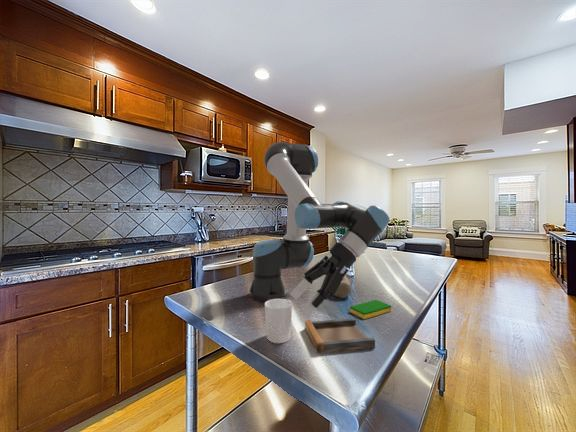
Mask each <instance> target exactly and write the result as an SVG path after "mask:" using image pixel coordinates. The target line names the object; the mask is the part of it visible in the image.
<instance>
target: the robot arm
mask: <svg viewBox="0 0 576 432" xmlns="http://www.w3.org/2000/svg"><path fill="white" fill-rule="evenodd" d="M264 153H265V154H264V156H263V157H264V159H263V162H264V166H265V169H266V170H267V172H268V174H270V175H272V176H274V178H275V179H276V180H277V182H278V184H279V185H280V186H281V188H282V190H283V191H284V192H285V194H286V196H287V210H286V211H287V212H286V214H287V216H286V217H287V218H286V234H284V236H283V237H282V241H281V240H280V239H277V238H273V239H265V240H261V241H258V242H256V243H255V244H254V246H253V253H252V257H253V279H252V282H251V285H250V289H249V298H250V299H251V298H252V300H253V299H254V301H256V302H258V301H259V302H266V301H268V300H271V299H285V297H286V288H285V285H284V283H283V279H282V270H287V269H295V268H302V267H306V266H308V265H310V264H311V263H312V261H313V258H314V254H315V248H314V247H313V246H314V244H313V243H312V242H311V241H310V237H308V235H307V229H308V230H315V229H316V230H317V229H327V228H328V229H331V228H332V229H333V228H337V229H338V228H345V229H346V231H345V232H344V233H343V234H342V235H341V237H340V238H339V239H338V242H336V243H335V244H334V245H333V246H332V247H331V248H330V249H329V253H330V257H329V256H327V255H325V256H324V257H323V258H322V259H321V260H320V261H318V262H317V263H316V264H314V265H313V266H311V268H309V269H308V270H307V271H305V273H304V274H303V275H304V277H303V278H302V280H301V281H300V282H299V283H298V284H297V285H296V286H295V287H294V288H293V290H291V292H290V294H289V295H291V296H292V297H293V298H294V299H295V300H298V299H299V298H300V297H301V296H302V295H303V294H304V293H305V291H306V290H307V289H308V288H309V287H310V286H311V285H313V283H314V281H315V280H317V279H319V278H321V277H324V279H323V281H322V284H321V286H320V289H318V290H316V292H315V293H314V294H313V295H312V296H311V297H310V298H309V300H308V301H307V302H306V303H305V304H304V305H303V307H302V308H301V309H300V313H301V314H302V315H304V316H305V317H306V319H309V318H310V317H311V316H312V314H313V313H314V312H315V311H316V310H317V309H318V307H319V306H320V305H322V303H323V302H324V301H326V300H328V301H332V300H333V298H334V296H335V292H336V291H337V289H338V287H339V285H340V283H341V281H342V279H343V277H344V276H345V275H346V274H348V272H349V269H350V268H351V267H352V266H353V265H354V263H356V262H357V258H359V257H361V256H362V254H364V253H365V252H366V250H367V249H368V248H369V246H370V245H371V244H372V243H373V241H375V240H376V239H377V238H378V236H379V235H381V233H383V232H384V230H385V229H386V228H387V226H388V224H389V223H390V221H391V219H390V217H389V215H388V213H387V212H386V211H385V209H384V210H383V209H382V208H381V207H379V206H377V205H369V206H368V207H367V208H366V209H365V210H364V209H361V208H359V207H357V206H355V205H352V204H351V203H348V202H346V201H341V200H337V201H335V202H333V203H321V201H320V200H319V199H318V198H317V196H316V195H315V194H314V193H313V191H312V190H311V189H310V187H309V180H310V179H311V178H312V176H313V173H315V172H316V171H317V168H318V166H319V156H318V153H317V150H316V149H315V148H314V147H313V146H311V145H306V144H303V143H302V144H301V143H300V144H299V143H293V142H292V143H290V142H286V141H279V142H278V141H277V142H275V143H273V144H271V145H270V146H269V147H268V148H267V149H266V151H265V152H264ZM324 275H325V276H324Z"/></svg>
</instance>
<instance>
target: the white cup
mask: <svg viewBox="0 0 576 432" xmlns="http://www.w3.org/2000/svg"><path fill="white" fill-rule="evenodd" d="M292 309H293V302H292V301H291V300H289V299H285V298H282V299H271V300H268V301H264V319H265V329H266V340H267V339H268V340H269V341H271V342H270V343H272V342H273V344H284V343H286V342H288V341H289V340H290V339H291V329H292V313H293V310H292ZM268 340H267V341H268Z"/></svg>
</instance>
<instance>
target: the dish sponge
mask: <svg viewBox="0 0 576 432" xmlns="http://www.w3.org/2000/svg"><path fill="white" fill-rule="evenodd" d="M349 312H350V313H351V314H353V315H355V316H357V317H359V318H361V319H363V320H366V319H369V318H374V317H376V316H381V315H383V314H387V313H390V312H392V305H391V304H388V303H386V302H382V301H381V300H377V299H375V300H370V301H366V302H361V303H358V304H354V305H351V306H349Z"/></svg>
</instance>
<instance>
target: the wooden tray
mask: <svg viewBox="0 0 576 432" xmlns="http://www.w3.org/2000/svg"><path fill="white" fill-rule="evenodd" d="M356 321H357V320H356V318H354V317H353V318H341V319H329V320H317V321H316V320H315V321H312V320H311V319H310V320H309V319H306V320H305V322H304V327H305V328H304V329H305V331H306V333H307V335H308V338H309V340H310V342H311V344H312V345H313V348H314V349H316V350H315V351H317V352H316V353H317V354H323V352H324V353H330V352H329V351H334V352H342V351H341V350H345V351H352V350H363V349H373V348H376V338H375V339H374V337H368V336H367V335H366V334H365V333H364V332H363V331H362V330H361V329H360V328H359V326H357V325H356ZM321 352H322V353H321Z"/></svg>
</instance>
